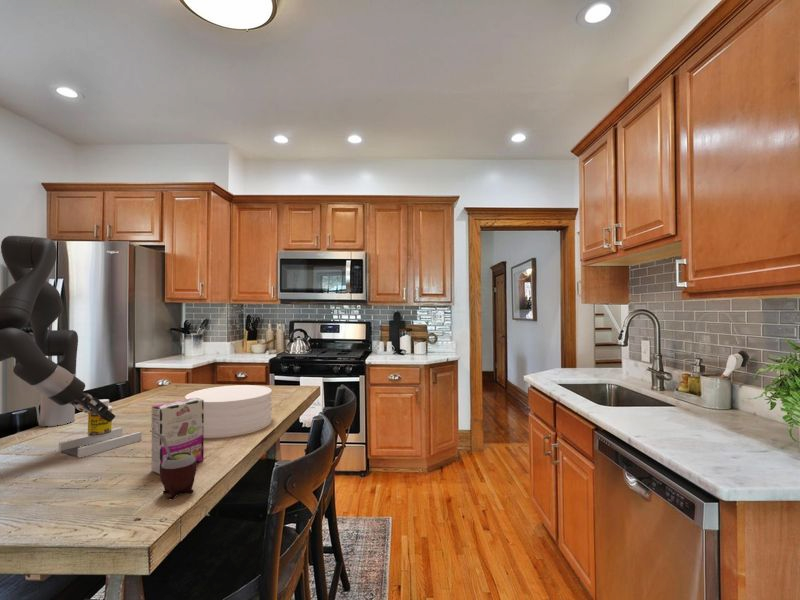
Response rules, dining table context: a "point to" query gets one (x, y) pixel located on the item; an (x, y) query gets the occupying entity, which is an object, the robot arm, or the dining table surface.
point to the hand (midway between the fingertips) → (106, 417)
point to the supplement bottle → (99, 423)
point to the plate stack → (234, 409)
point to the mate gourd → (177, 471)
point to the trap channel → (74, 445)
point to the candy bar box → (178, 430)
